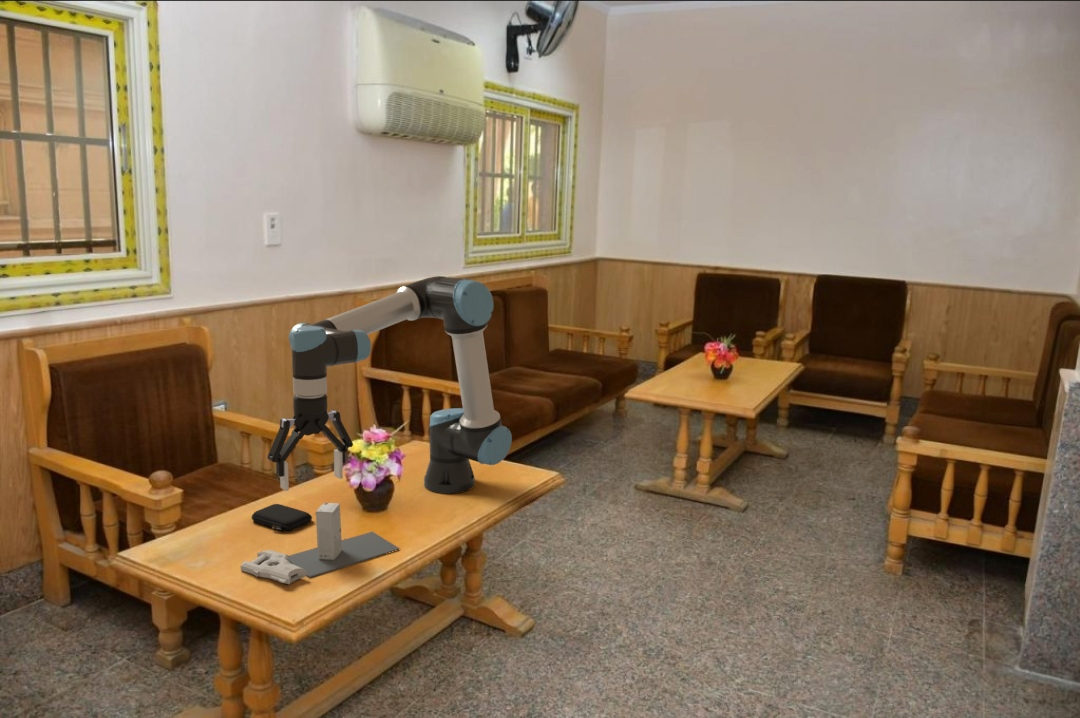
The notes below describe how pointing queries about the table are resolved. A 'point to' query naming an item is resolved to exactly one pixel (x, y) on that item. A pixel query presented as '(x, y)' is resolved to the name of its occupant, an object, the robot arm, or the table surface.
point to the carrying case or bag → (281, 517)
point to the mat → (343, 554)
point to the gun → (274, 567)
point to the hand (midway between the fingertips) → (312, 483)
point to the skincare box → (328, 531)
